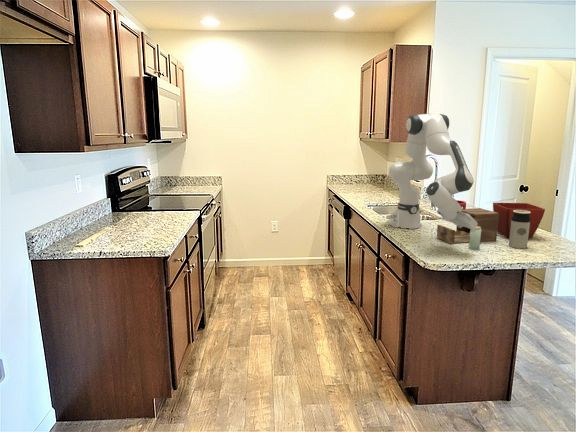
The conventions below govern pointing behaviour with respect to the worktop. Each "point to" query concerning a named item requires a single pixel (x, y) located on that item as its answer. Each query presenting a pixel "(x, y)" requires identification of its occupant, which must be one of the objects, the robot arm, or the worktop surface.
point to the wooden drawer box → (483, 223)
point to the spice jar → (475, 239)
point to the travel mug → (519, 229)
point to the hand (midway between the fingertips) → (467, 229)
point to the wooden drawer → (452, 235)
